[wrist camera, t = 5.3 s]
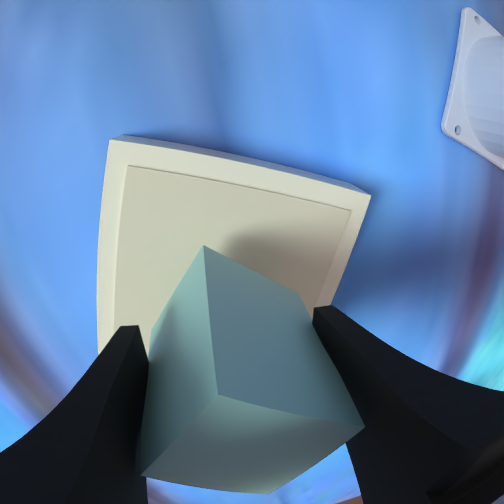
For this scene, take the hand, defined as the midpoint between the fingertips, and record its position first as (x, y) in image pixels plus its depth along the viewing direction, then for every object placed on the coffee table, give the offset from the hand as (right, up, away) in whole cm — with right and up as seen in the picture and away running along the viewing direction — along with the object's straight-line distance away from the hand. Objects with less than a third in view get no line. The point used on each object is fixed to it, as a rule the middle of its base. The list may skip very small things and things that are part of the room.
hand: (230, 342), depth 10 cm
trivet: (-1, +2, +5) cm, 6 cm away
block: (0, +1, +2) cm, 2 cm away
